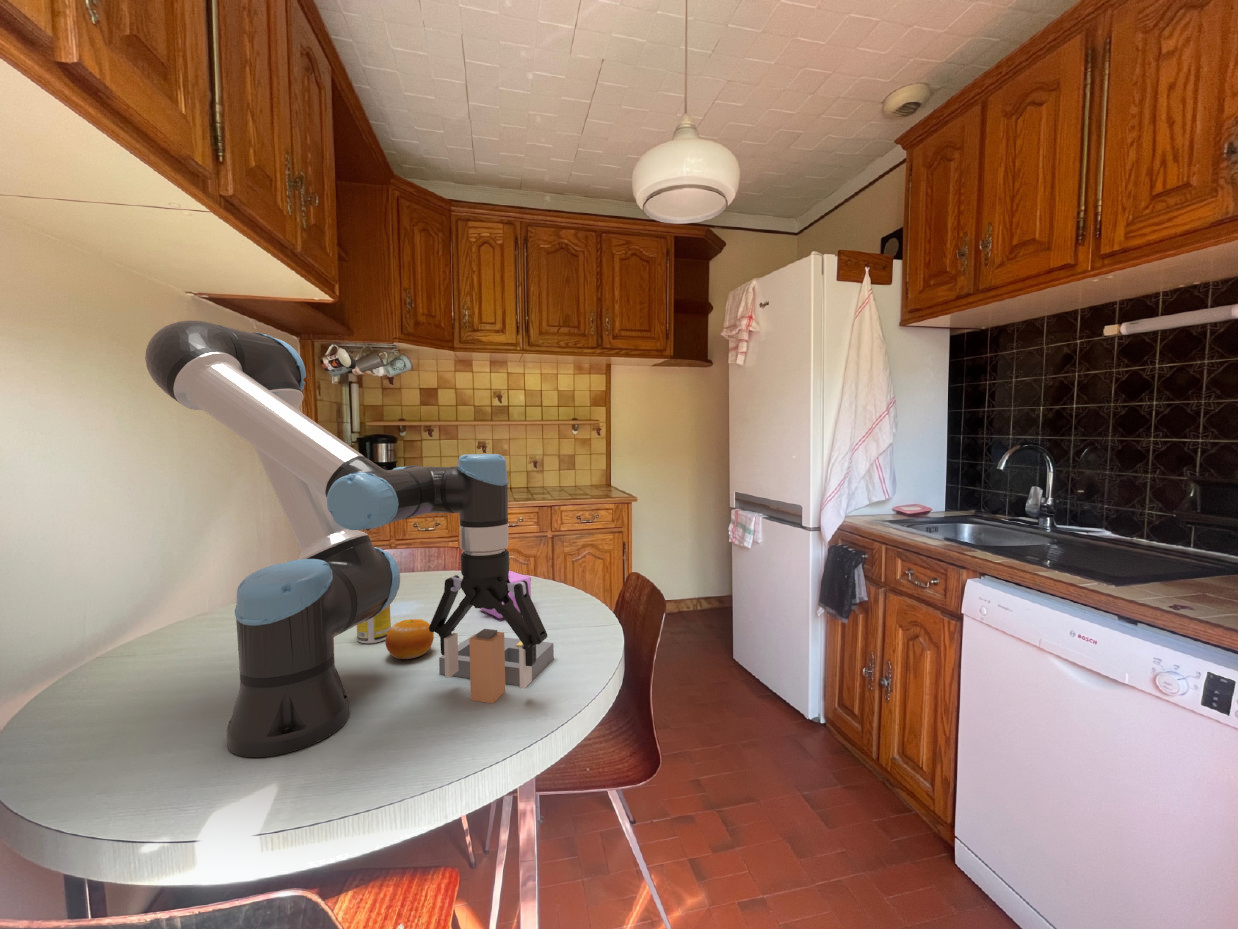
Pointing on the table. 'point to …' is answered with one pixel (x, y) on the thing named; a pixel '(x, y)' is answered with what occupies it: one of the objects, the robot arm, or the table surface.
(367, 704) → the table surface
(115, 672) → the table surface
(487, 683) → the plug
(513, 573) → the teapot
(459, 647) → the socket board
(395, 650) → the fruit
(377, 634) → the pill bottle
